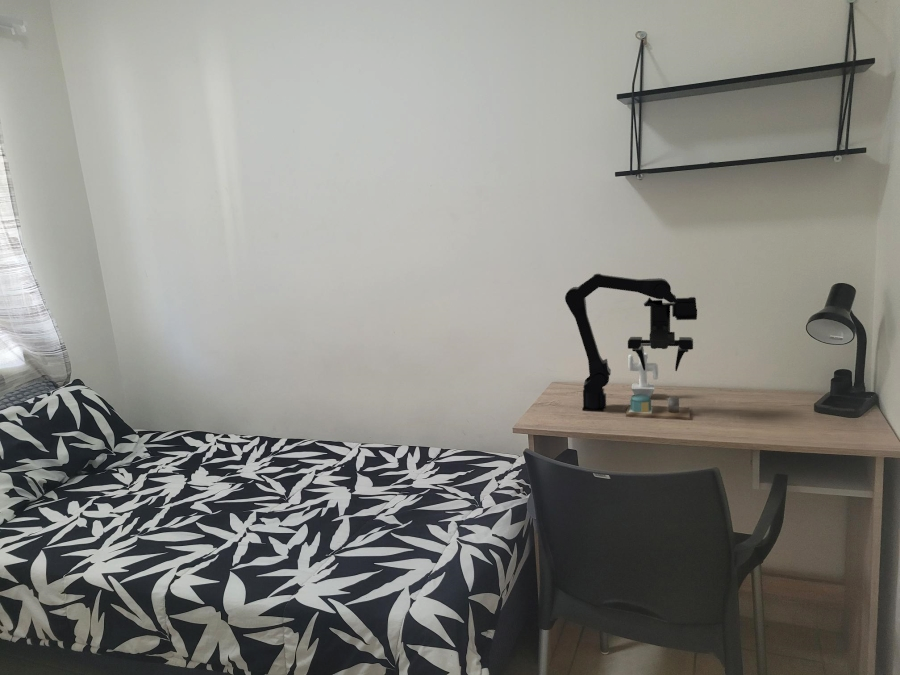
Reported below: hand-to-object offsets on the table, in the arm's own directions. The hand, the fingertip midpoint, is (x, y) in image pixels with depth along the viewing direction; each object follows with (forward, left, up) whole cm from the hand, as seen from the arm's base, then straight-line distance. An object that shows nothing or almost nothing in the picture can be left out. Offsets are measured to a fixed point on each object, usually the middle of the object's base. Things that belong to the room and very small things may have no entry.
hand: (660, 370), depth 190 cm
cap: (-5, -4, -12) cm, 13 cm away
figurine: (-6, +14, -13) cm, 20 cm away
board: (0, -4, -12) cm, 13 cm away
